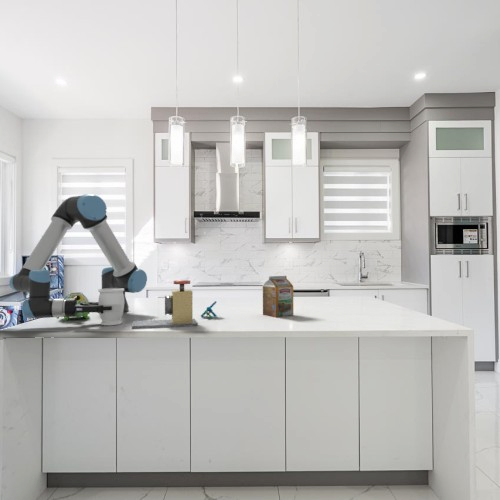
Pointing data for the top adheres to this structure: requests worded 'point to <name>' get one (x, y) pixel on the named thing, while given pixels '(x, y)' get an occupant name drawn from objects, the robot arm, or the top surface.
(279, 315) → the milk carton
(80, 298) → the turtle holder
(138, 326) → the valve fitting
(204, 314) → the teal toy telescope
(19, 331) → the top surface
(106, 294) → the jar
